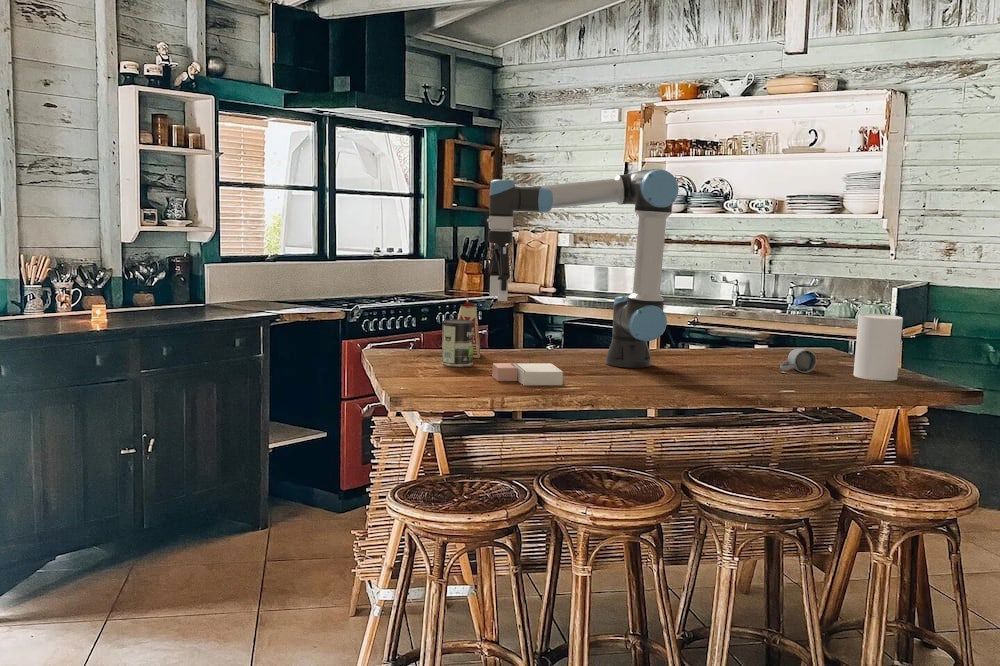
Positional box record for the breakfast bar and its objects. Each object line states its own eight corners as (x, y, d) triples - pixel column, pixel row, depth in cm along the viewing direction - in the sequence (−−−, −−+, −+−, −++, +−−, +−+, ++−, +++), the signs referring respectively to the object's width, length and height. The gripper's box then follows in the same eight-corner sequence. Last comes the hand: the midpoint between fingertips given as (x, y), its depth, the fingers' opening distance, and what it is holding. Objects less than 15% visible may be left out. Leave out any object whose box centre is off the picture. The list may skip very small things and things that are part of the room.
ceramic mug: (806, 368, 334) (807, 346, 333) (816, 373, 326) (817, 350, 325) (776, 368, 333) (777, 346, 332) (785, 373, 325) (786, 350, 324)
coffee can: (475, 362, 326) (477, 320, 324) (468, 367, 316) (469, 324, 314) (445, 360, 328) (446, 318, 326) (437, 365, 318) (438, 322, 316)
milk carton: (479, 357, 335) (481, 299, 332) (452, 356, 335) (453, 298, 332) (480, 353, 344) (482, 296, 341) (454, 352, 344) (455, 295, 341)
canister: (844, 373, 327) (849, 314, 324) (875, 372, 332) (880, 313, 329) (874, 381, 314) (880, 319, 312) (906, 379, 320) (912, 318, 317)
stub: (511, 376, 303) (511, 362, 302) (516, 381, 295) (517, 367, 295) (492, 376, 302) (492, 362, 301) (497, 381, 294) (497, 367, 293)
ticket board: (550, 376, 305) (551, 362, 305) (562, 385, 292) (562, 371, 291) (513, 376, 303) (513, 362, 302) (522, 385, 289) (523, 371, 289)
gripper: (481, 228, 315) (479, 294, 318) (496, 231, 291) (494, 303, 294) (504, 228, 316) (501, 294, 319) (521, 232, 292) (518, 303, 295)
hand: (498, 298), depth 306 cm, fingers open, 13 cm apart
